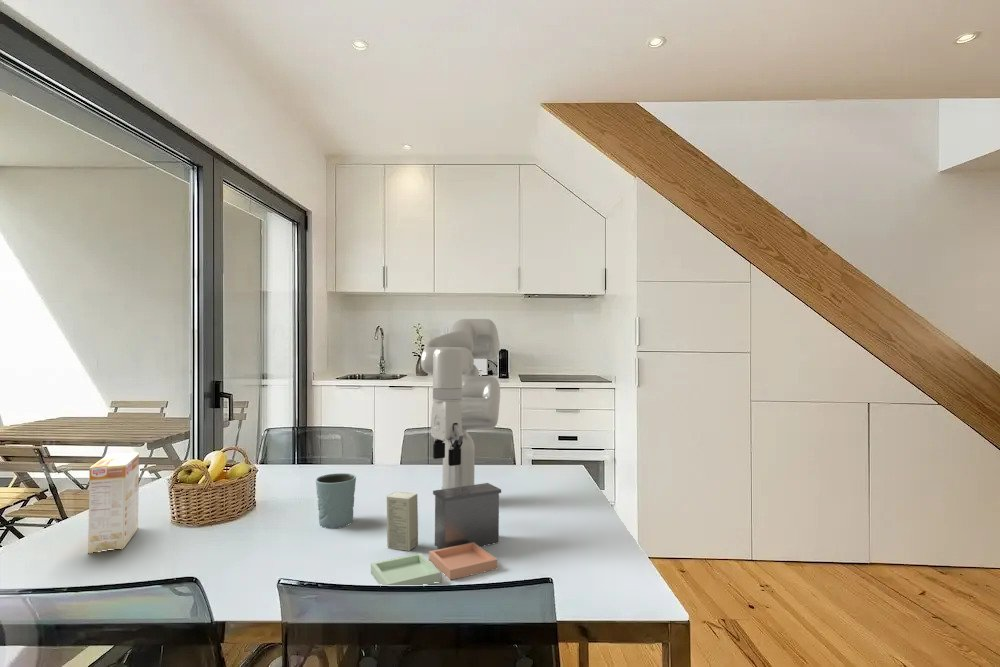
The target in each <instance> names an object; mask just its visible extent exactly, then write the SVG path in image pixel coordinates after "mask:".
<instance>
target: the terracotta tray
mask: <svg viewBox="0 0 1000 667" xmlns="http://www.w3.org/2000/svg"><path fill="white" fill-rule="evenodd" d="M428 556H429V557H428V560H429V561H431V562H432V563H433V564H434V565H435V567H436V568H437V569H438V570H439V571H440V572H441V574H443V573H444V574H445V575H444V574H443V575H444V577H446V576H447V577H448V578H449V579H450V580H449V579H448V578H447V577H446V578H447V579H448V580H449V581H451V579H453V580H456V579H455V578H457V579H461V578H464V577H468V576H467V575H469V576H472V575H471V574H473V575H477V574H476V573H478V574H481V573H480V572H482V573H485V572H484V571H486V572H489V571H488V570H490V571H493V570H492V569H494V570H497V569H498V558H496V557H495V556H493V555H492V554H491V553H490V552H488V550H485V549H484V548H482V546H481V547H480V546H478V545H477V544H476V543H474V542H472V543H467V544H463V545H458V546H453V547H448V548H443V549H439V548H438V549H435V550H434V549H433V550H429V551H428ZM496 568H497V569H496ZM460 577H461V578H460Z"/></svg>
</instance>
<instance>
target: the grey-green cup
mask: <svg viewBox="0 0 1000 667" xmlns="http://www.w3.org/2000/svg"><path fill="white" fill-rule="evenodd" d="M356 480H357V476H356V475H355V474H354V473H347V472H346V473H345V472H337V473H329V474H324V475H321V476H318V477H316V479H315V487H316V495H317V507H318V509H317V510H318V524H319V526H320V527H321V526H322V527H321V528H324V527H326V528H325V529H338V528H337V527H341V528H344V527H343V526H346V525H348V524H350V523H351V524H352V523H353V522H354V505H355V492H356ZM351 524H350V525H351ZM348 526H349V525H348ZM346 527H347V526H346Z"/></svg>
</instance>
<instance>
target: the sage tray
mask: <svg viewBox="0 0 1000 667" xmlns="http://www.w3.org/2000/svg"><path fill="white" fill-rule="evenodd" d="M370 574H371V575H372V576H374V577H373V578H374V580H376V583H378V585H379V584H382V585H423V584H432V585H435V584H437V583H434V582H440V581H441V582H442V572H441V571H440V570H439V569H438V568H437V567H436V566H434V565H433V564H432V563H431V562H430V561H429V559H428V558H426V556H424V554H422V553H421V552H419V553H415V554H410V555H405V556H400V557H396V558H390V559H385V560H381V561H380V560H379V561H376V562H371V563H370ZM441 582H440V583H441Z"/></svg>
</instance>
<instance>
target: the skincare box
mask: <svg viewBox="0 0 1000 667" xmlns="http://www.w3.org/2000/svg"><path fill="white" fill-rule="evenodd" d="M418 503H419V502H418V493H415V492H402V491H395V492H392V493H390V494H388V495H386V542H387V544H386V545H387V546H386V548H387V547H388V548H387V549H392V548H393V549H394V550H401V551H409V552H410V551H412V550H413V549H414V548H416V547H417V546H418V545H419V512H418V511H419V510H418V508H419V507H418ZM393 549H392V550H393Z"/></svg>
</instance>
